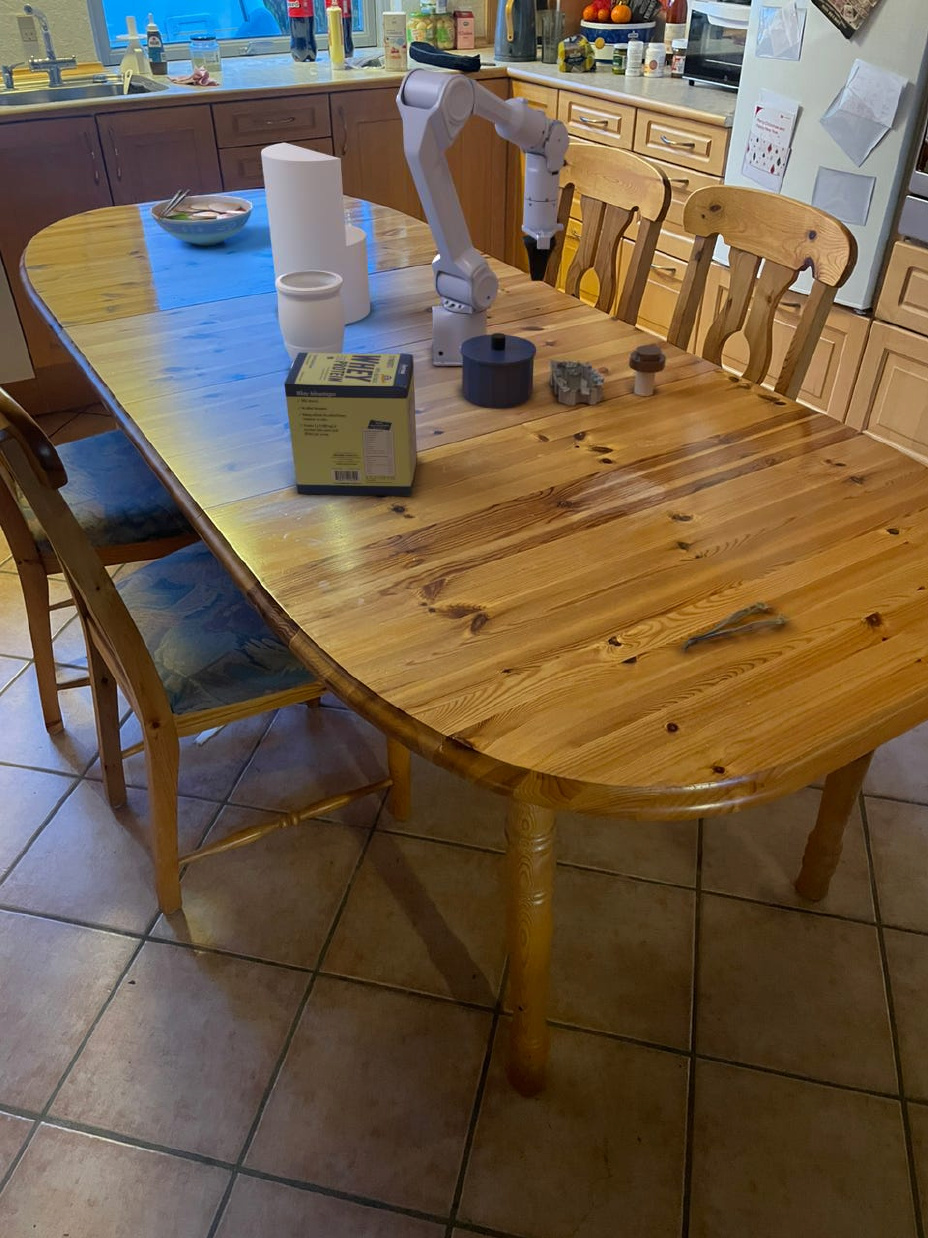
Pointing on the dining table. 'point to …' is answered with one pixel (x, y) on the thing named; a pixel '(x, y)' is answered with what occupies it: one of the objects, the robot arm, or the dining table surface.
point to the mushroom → (646, 368)
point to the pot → (497, 384)
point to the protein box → (352, 423)
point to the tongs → (734, 619)
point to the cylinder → (314, 222)
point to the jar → (311, 312)
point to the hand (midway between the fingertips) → (537, 279)
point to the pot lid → (498, 350)
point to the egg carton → (576, 382)
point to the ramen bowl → (202, 217)
